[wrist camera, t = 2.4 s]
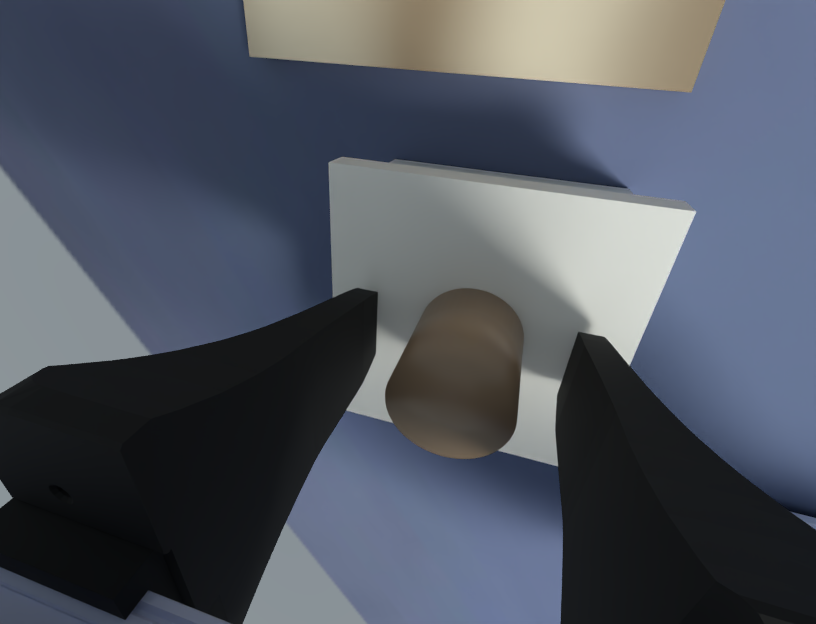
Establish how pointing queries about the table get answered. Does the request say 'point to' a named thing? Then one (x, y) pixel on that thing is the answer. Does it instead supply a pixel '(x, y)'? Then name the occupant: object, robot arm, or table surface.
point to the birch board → (496, 37)
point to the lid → (491, 294)
